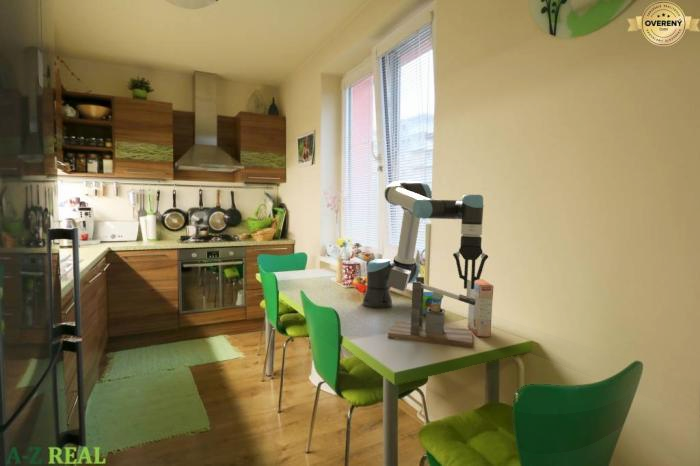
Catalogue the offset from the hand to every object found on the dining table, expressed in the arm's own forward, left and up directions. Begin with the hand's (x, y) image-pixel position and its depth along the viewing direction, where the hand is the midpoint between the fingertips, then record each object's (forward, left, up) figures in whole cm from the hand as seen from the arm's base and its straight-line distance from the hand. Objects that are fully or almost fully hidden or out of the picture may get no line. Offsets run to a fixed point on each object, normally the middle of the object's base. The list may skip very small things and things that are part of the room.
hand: (468, 297), depth 148 cm
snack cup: (-32, -16, -17) cm, 40 cm away
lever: (0, -15, -1) cm, 15 cm away
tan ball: (0, -12, -7) cm, 14 cm away
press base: (0, -14, -17) cm, 21 cm away
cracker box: (-13, +5, -17) cm, 22 cm away
